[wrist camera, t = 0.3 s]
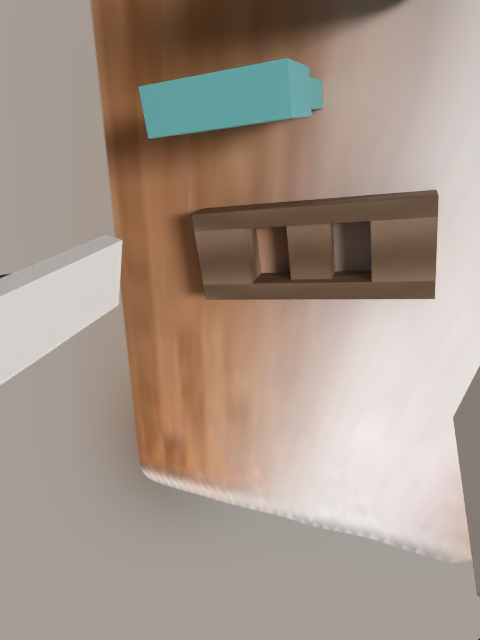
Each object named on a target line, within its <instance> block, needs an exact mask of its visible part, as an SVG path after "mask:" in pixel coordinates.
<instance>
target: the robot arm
mask: <svg viewBox="0 0 480 640" xmlns="http://www.w3.org/2000/svg"><path fill="white" fill-rule="evenodd" d="M121 255H122V240H121V239H117V238H114V237H111V236H107V235H103V236H100V237H98V238H95V239H93V240H91V241H89V242H86V243H84V244H81V245H79V246H76V247H74V248H72V249H69V250H67V251H64V252H62V253H60V254H57V255H55V256H52V257H50V258H48V259H45V260H43V261H41V262H38V263H36V264H33V265H31V266H29V267H26V268H24V269H21V270H19V271H17V272H14V273H11V274H6V275H0V385H1V384H3V383H4V382H6V381H7V380H9V379H10V378H11V377H13V376H14V375H16V374H17V373H19V372H20V371H22V370H23V369H25V368H26V367H28V366H29V365H31V364H32V363H34V362H35V361H37V360H38V359H40V358H41V357H42V356H44V355H45V354H47V353H48V352H50V351H51V350H53V349H54V348H56V347H57V346H59V345H60V344H61V343H63V342H65V341H66V340H68V339H69V338H70V337H72V336H73V335H75V334H76V333H78V332H79V331H81V330H82V329H84V328H85V327H87V326H88V325H90V324H91V323H93V322H94V321H95V320H97V319H98V318H100V317H101V316H103V315H104V314H106V313H107V312H109V311H110V310H112V309H113V308H115V307H116V306H118V305H119V291H120V273H121ZM453 420H454V427H455V435H456V442H457V449H458V457H459V464H460V472H461V479H462V486H463V494H464V501H465V509H466V516H467V523H468V531H469V538H470V546H471V553H472V560H473V568H474V575H475V582H476V590H477V596H480V367H479V368H478V370H477V372H476V374H475V376H474V378H473V380H472V382H471V384H470V386H469V388H468V390H467V392H466V394H465V396H464V397H463V399H462V401H461V403H460V405H459V407H458V409H457V411H456V413H455V415H454V417H453ZM479 640H480V639H479Z"/></svg>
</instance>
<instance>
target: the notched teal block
mask: <svg viewBox="0 0 480 640" xmlns="http://www.w3.org/2000/svg"><path fill="white" fill-rule="evenodd" d="M139 92H140V97H141V102H142V107H143V113H144V118H145V123H146V128H147V134H148V139H150V138H159V137H168V136H176V135H185V134H192V133H199V132H206V131H213V130H220V129H227V128H234V127H241V126H248V125H255V124H262V123H269V122H276V121H283V120H290V119H297V118H304V117H311V116H312V112H311V110H318V109H323V100H322V81H321V80H318V79H315V78H312V77H309V67H308V66H306V65H303V64H301V63H298V62H296V61H293V60H291V59H288V58H285V59H280V60H275V61H270V62H264V63H259V64H254V65H249V66H244V67H238V68H233V69H228V70H223V71H217V72H212V73H207V74H202V75H197V76H191V77H186V78H181V79H176V80H171V81H165V82H160V83H155V84H150V85H145V86H139Z"/></svg>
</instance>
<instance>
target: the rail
mask: <svg viewBox="0 0 480 640" xmlns="http://www.w3.org/2000/svg"><path fill="white" fill-rule="evenodd" d="M192 221H193V227H194V233H195V239H196V245H197V251H198V257H199V263H200V269H201V275H202V281H203V287H204V293H205V299H206V300H226V299H435V277H436V250H437V223H438V193H437V190H430V191H417V192H405V193H392V194H380V195H367V196H354V197H342V198H329V199H317V200H304V201H292V202H279V203H266V204H254V205H241V206H229V207H216V208H204V209H202V210H200V211H198V212H196V213H194V214H192ZM362 221H371V270H372V271H342V272H335V260H334V241H333V223H346V222H362ZM280 226H286V228H287V239H288V251H289V262H290V273H261V268H260V260H259V251H258V242H257V234H256V228H263V227H280Z"/></svg>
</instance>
